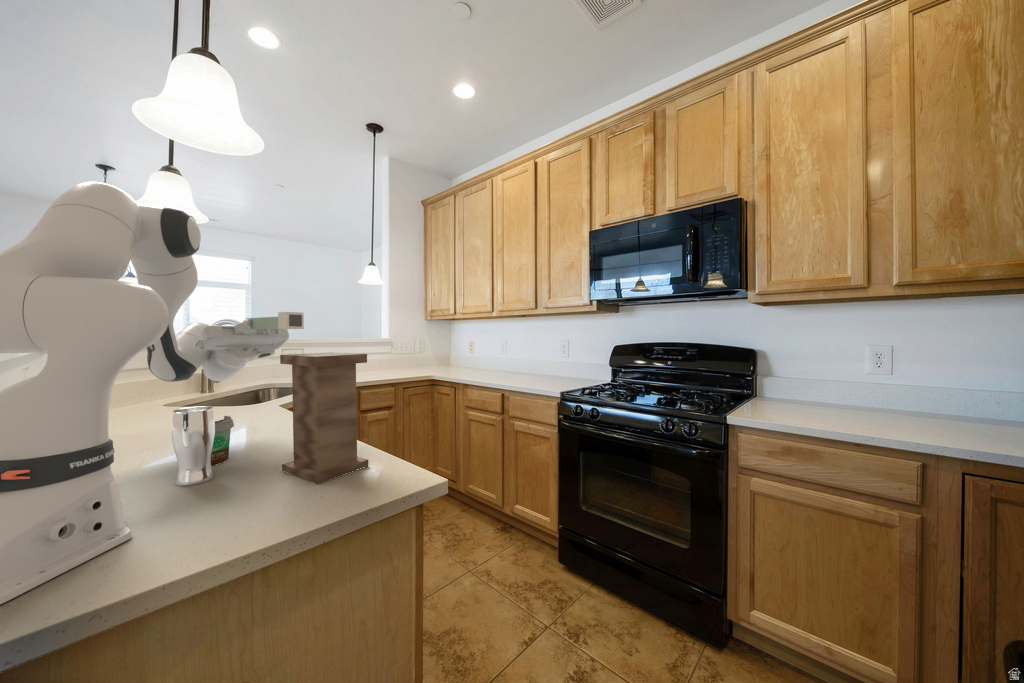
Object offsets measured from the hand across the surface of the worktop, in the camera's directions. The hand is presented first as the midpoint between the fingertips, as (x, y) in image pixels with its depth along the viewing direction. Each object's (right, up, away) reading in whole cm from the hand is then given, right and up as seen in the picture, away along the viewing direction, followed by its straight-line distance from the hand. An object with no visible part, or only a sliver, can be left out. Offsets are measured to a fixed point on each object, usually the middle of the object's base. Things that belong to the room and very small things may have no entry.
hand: (258, 322), depth 100 cm
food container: (-3, -34, -11) cm, 36 cm away
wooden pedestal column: (+26, -34, -15) cm, 45 cm away
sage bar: (+6, -2, -4) cm, 8 cm away
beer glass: (+1, -35, -22) cm, 41 cm away
